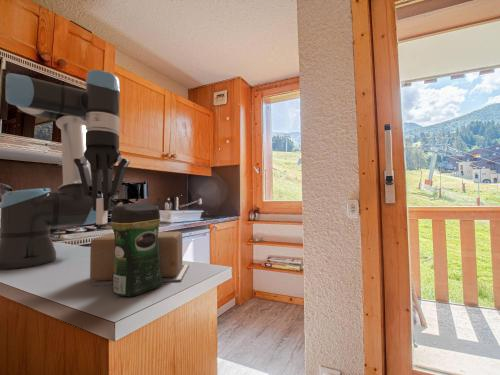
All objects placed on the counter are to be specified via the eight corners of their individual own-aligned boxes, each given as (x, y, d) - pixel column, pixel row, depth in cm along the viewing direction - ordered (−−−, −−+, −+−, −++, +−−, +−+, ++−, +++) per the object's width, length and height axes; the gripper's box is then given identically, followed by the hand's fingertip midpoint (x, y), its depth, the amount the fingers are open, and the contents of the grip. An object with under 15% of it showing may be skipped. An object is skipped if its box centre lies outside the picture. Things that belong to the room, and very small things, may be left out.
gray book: (116, 269, 69) (116, 267, 69) (189, 266, 71) (189, 264, 71) (91, 285, 56) (91, 283, 56) (181, 281, 58) (181, 279, 58)
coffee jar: (147, 277, 60) (146, 201, 60) (167, 285, 55) (166, 202, 55) (105, 292, 52) (104, 203, 52) (124, 302, 47) (123, 205, 47)
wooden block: (88, 282, 57) (176, 278, 59) (88, 239, 57) (176, 236, 60) (107, 270, 67) (182, 266, 69) (107, 233, 67) (182, 230, 70)
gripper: (66, 128, 60) (65, 226, 59) (123, 129, 61) (122, 224, 60) (84, 136, 67) (83, 222, 66) (134, 136, 68) (133, 221, 67)
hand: (101, 223), depth 63 cm, fingers closed
